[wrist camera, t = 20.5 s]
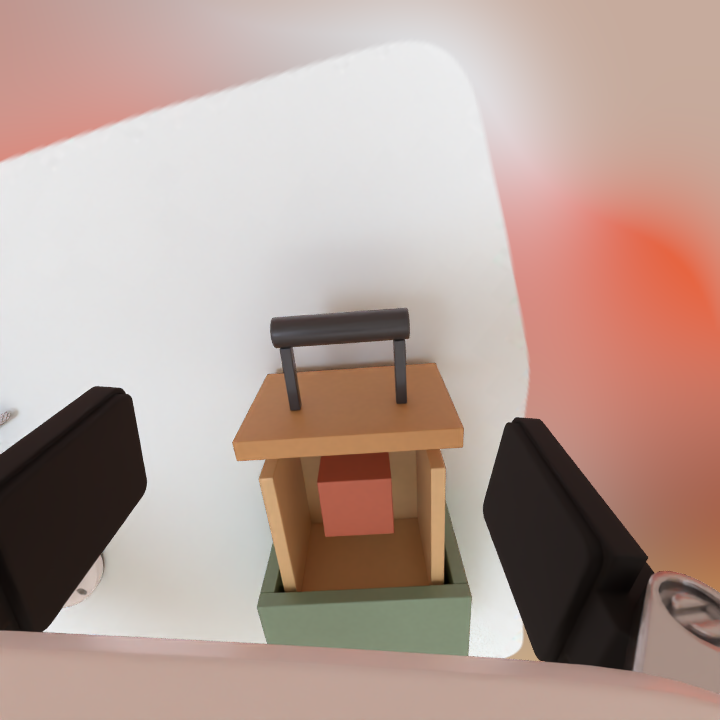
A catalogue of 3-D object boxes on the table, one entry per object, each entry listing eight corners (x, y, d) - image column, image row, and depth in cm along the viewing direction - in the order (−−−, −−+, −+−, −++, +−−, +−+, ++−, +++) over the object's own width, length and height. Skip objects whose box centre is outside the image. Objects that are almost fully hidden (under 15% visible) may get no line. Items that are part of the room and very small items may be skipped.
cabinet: (285, 490, 32) (256, 607, 23) (440, 481, 31) (472, 597, 22) (309, 606, 38) (292, 736, 29) (439, 600, 37) (464, 730, 28)
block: (324, 433, 27) (316, 483, 23) (386, 429, 27) (391, 478, 22) (330, 482, 29) (324, 537, 24) (389, 479, 29) (394, 533, 24)
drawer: (252, 297, 24) (206, 342, 17) (435, 283, 24) (468, 323, 17) (295, 520, 32) (276, 617, 25) (435, 512, 32) (457, 608, 24)
